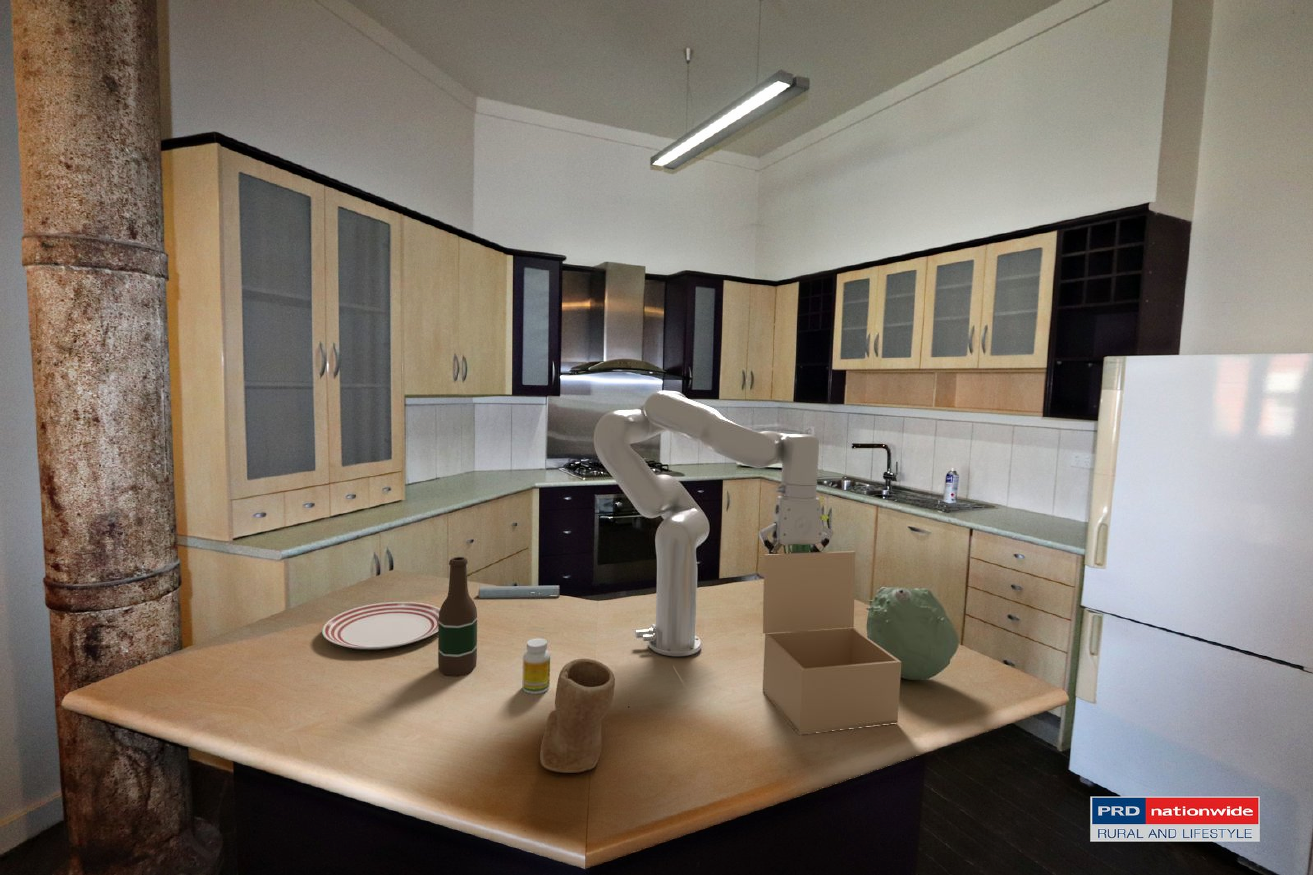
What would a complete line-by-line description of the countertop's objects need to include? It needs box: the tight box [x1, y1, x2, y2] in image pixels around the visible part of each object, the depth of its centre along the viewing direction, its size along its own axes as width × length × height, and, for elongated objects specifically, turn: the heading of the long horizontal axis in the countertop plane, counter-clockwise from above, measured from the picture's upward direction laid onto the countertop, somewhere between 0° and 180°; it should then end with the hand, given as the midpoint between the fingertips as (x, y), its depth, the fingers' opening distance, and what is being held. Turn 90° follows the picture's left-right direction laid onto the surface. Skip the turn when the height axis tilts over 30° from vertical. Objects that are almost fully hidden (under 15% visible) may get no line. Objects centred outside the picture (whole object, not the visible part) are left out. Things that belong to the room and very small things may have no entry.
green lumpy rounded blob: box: [865, 586, 960, 681], centre depth 129 cm, size 16×19×20 cm
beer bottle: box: [437, 556, 478, 678], centre depth 125 cm, size 8×8×24 cm
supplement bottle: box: [522, 637, 551, 695], centre depth 119 cm, size 5×5×10 cm
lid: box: [762, 550, 856, 635], centre depth 126 cm, size 20×16×8 cm
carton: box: [762, 627, 902, 736], centre depth 115 cm, size 20×16×12 cm
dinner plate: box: [321, 601, 441, 650], centre depth 143 cm, size 27×27×3 cm
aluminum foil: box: [478, 585, 561, 599], centre depth 169 cm, size 23×7×3 cm, turn 99°
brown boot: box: [539, 658, 616, 774], centre depth 99 cm, size 15×12×15 cm
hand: (794, 568), depth 130 cm, fingers open, 9 cm apart
